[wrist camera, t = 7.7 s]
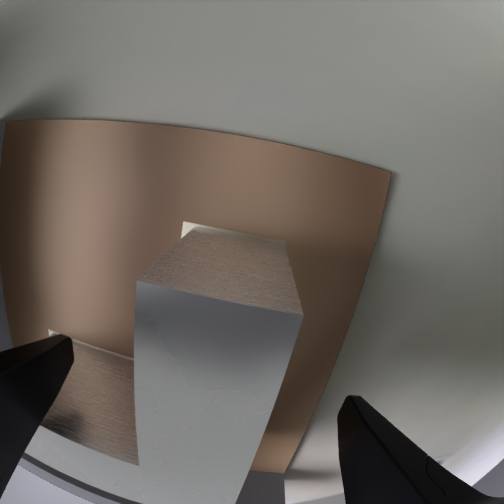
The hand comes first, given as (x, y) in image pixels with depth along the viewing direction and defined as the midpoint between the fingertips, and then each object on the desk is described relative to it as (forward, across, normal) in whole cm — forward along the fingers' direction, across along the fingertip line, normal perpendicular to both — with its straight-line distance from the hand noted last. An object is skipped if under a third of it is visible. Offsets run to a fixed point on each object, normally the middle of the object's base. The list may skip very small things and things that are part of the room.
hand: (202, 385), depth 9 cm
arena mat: (+3, +4, +1) cm, 5 cm away
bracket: (+3, +3, 0) cm, 4 cm away
